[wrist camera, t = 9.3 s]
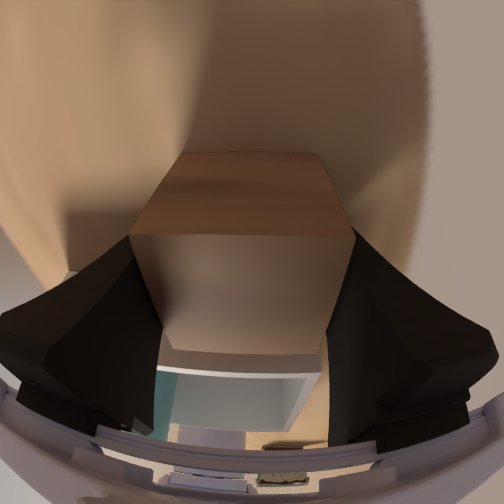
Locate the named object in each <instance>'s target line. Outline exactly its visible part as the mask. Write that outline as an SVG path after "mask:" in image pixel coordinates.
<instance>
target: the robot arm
mask: <svg viewBox="0 0 504 504" xmlns="http://www.w3.org/2000/svg"><path fill="white" fill-rule="evenodd" d="M351 227H352V226H351ZM352 229H353V232H354V234H355V237H356V240H355V243H354V247H353V250H352V254H351V257H350V260H349V264H348V267H347V270H346V274H345V277H344V280H343V283H342V286H341V289H340V292H339V295H338V298H337V301H336V304H335V307H334V310H333V313H332V316H331V318H330V321H329V324H328V327H327V329H326V336H327V346H328V359H329V383H330V410H329V433H328V447H326V448H316V449H302V450H274V451H262V450H245V444H246V431H228V430H215V429H205V428H196V427H188V426H181V425H179V432H178V439H177V443H172V442H167V441H162V440H157V439H152V438H147V437H143V436H147V435H149V434H151V433H152V432H153V431H154V395H155V382H156V372H157V364H158V356H159V350H160V344H161V338H162V332H163V326H162V323H161V321H160V319H159V316H158V314H157V312H156V309H155V307H154V304H153V302H152V299H151V297H150V294H149V292H148V289H147V287H146V284H145V281H144V279H143V276H142V273H141V271H140V268H139V265H138V262H137V259H136V257H135V254H134V251H133V248H132V245H131V242H130V239H129V236H128V235H127V236H126V237H125V238H123V239H122V240H121V241H119V242H118V243H117V244H116V245H115V246H113V247H112V248H111V249H110V250H108V251H107V252H106V253H105V254H103V255H102V256H101V257H99V258H98V259H97V260H95V261H94V262H93V263H91V264H90V265H88V266H87V267H86V268H84V269H83V270H81V271H80V272H78V273H77V274H75V275H74V276H72V277H70V278H69V279H67V280H66V281H64V282H62V283H61V284H59V285H58V286H56V287H54V288H53V289H51V290H49V291H47V292H45V293H44V294H42V295H40V296H38V297H36V298H34V299H32V300H30V301H28V302H26V303H24V304H22V305H20V306H17V307H15V308H13V309H11V310H9V311H6V312H4V313H2V314H1V316H0V363H1V364H2V365H3V366H4V367H5V368H6V369H7V370H9V371H10V372H11V373H12V374H13V375H15V376H16V377H17V378H18V379H19V380H20V381H22V382H21V385H20V388H19V391H18V390H16V389H14V388H12V387H10V386H9V385H7V383H6V382H4V381H3V380H2V379H1V378H0V458H1V459H2V460H3V461H4V462H5V463H6V464H7V465H8V466H9V467H10V468H11V469H12V470H13V471H14V472H15V473H16V474H17V475H18V476H19V477H20V478H21V479H23V480H24V481H25V482H26V483H27V484H28V485H29V486H31V487H32V488H33V489H34V490H35V491H36V492H38V493H39V494H40V495H41V496H43V497H44V498H45V499H46V500H48V501H49V502H50V503H52V504H456V503H457V502H459V501H460V500H462V499H463V498H465V497H466V496H467V495H469V494H470V493H471V492H473V491H474V490H475V489H477V488H478V487H479V486H481V485H482V484H483V483H484V482H486V481H487V480H488V479H489V478H490V477H492V476H493V475H494V474H495V473H496V472H497V471H499V470H500V469H501V468H502V467H503V466H504V392H503V393H501V394H499V395H497V396H496V397H494V398H493V399H491V400H490V401H488V402H487V403H486V404H484V406H482V407H480V408H477V409H475V410H473V411H470V412H468V409H467V405H466V402H467V401H468V400H470V397H471V396H470V393H469V388H470V387H471V386H472V385H474V384H475V383H476V382H478V381H479V380H480V379H481V378H482V377H484V376H485V375H486V374H487V373H488V372H489V371H490V370H491V369H492V368H493V367H494V366H495V365H496V363H497V361H498V358H499V354H498V351H497V349H496V346H495V344H494V341H493V339H492V336H491V334H490V332H489V330H487V329H486V328H484V327H482V326H480V325H478V324H476V323H474V322H473V321H471V320H469V319H467V318H465V317H463V316H462V315H460V314H458V313H457V312H455V311H453V310H452V309H450V308H448V307H447V306H445V305H444V304H442V303H441V302H439V301H438V300H436V299H435V298H433V297H432V296H431V295H429V294H428V293H427V292H425V291H424V290H422V289H421V288H420V287H418V286H417V285H416V284H414V283H413V282H412V281H410V280H409V279H408V278H407V277H406V276H404V275H403V274H402V273H401V272H399V271H398V270H397V269H396V268H395V267H394V266H392V265H391V264H390V263H389V262H388V261H387V260H386V259H385V258H384V257H383V256H381V255H380V254H379V253H378V252H377V251H376V250H375V249H374V248H373V247H372V246H371V245H370V244H369V243H368V242H367V241H366V240H365V239H364V238H363V237H362V236H361V235H360V234H359V233H358V232H357V231H356V230H355V229H354V228H353V227H352ZM123 431H125V432H123ZM126 432H129V433H126ZM130 433H134V434H138V435H142V436H138V435H134V434H130ZM99 446H100V447H104V448H107V449H110V450H113V451H116V452H119V453H123V454H126V455H130V456H133V457H138V458H141V459H145V460H149V461H154V462H159V463H163V464H169V465H174V471H175V472H180V473H186V474H180V473H174V472H171V473H170V475H168V474H166V475H164V476H163V477H161V478H160V479H159V481H158V483H155V482H153V481H152V480H153V470H152V469H149V468H145V467H142V466H138V465H135V464H131V463H128V462H126V461H122V460H119V459H116V458H113V457H110V456H107V455H105V454H104V453H103V451H102V449H101V448H100V447H99ZM373 462H375V463H374V464H373V465H372V466H371V468H370V470H367V471H363V472H358V473H353V474H347V475H341V476H337V477H332V478H325V479H321V480H320V481H319V492H313V493H299V494H258V492H257V490H256V489H255V488H254V487H253V486H252V485H251V484H247V481H245V480H244V481H243V480H230V479H244V473H249V474H283V473H302V472H314V471H323V470H333V469H340V468H346V467H352V466H358V465H363V464H368V463H373ZM187 474H191V475H187ZM224 478H226V479H224Z"/></svg>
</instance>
